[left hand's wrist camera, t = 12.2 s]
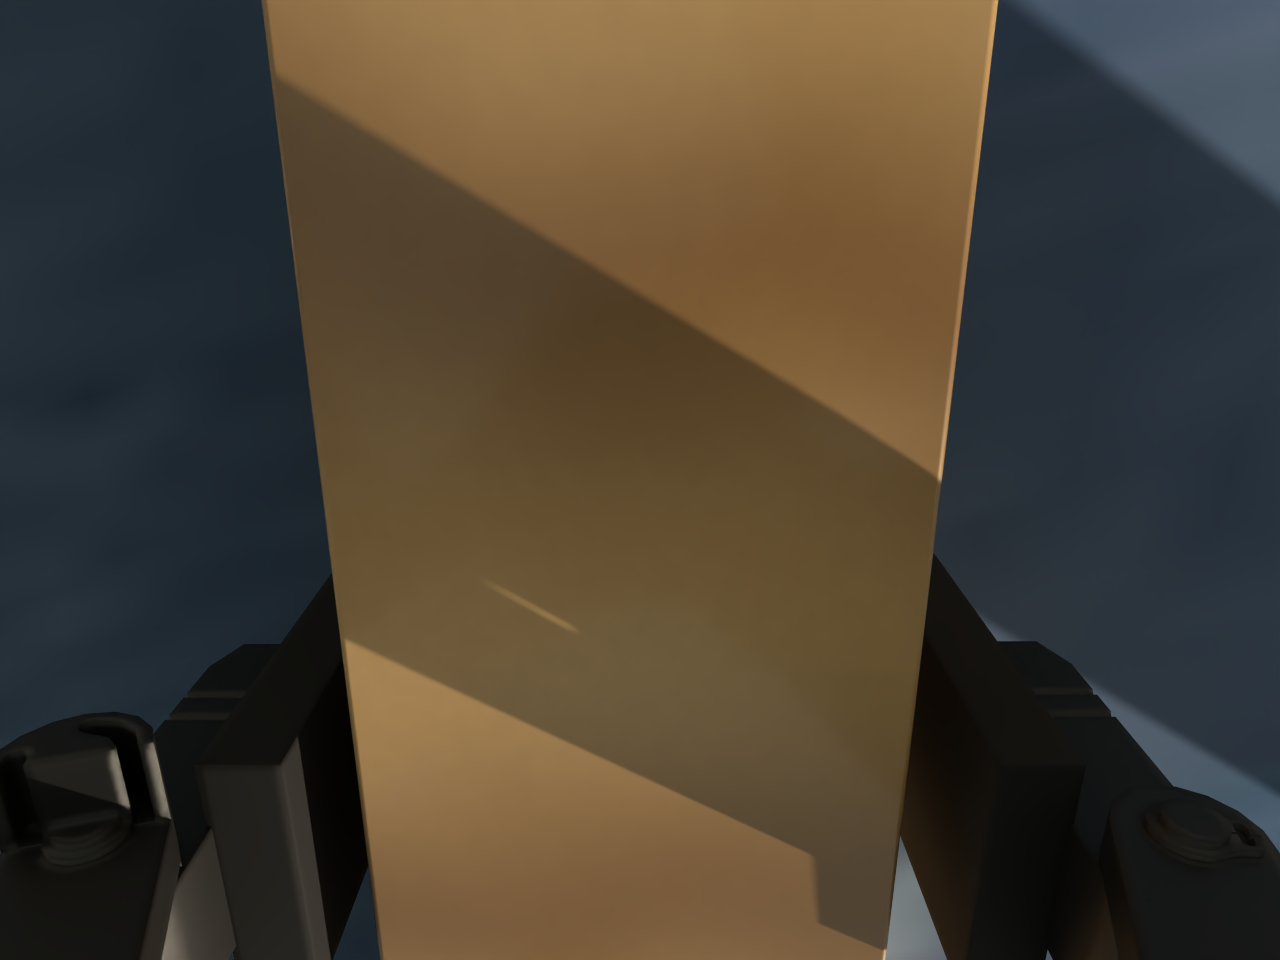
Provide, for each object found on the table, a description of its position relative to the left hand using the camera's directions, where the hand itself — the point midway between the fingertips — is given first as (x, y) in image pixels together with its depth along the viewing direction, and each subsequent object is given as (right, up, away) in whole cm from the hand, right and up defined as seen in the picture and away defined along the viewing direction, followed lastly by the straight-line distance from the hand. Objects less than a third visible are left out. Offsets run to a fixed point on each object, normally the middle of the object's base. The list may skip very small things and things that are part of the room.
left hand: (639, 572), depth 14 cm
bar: (0, -22, +10) cm, 24 cm away
